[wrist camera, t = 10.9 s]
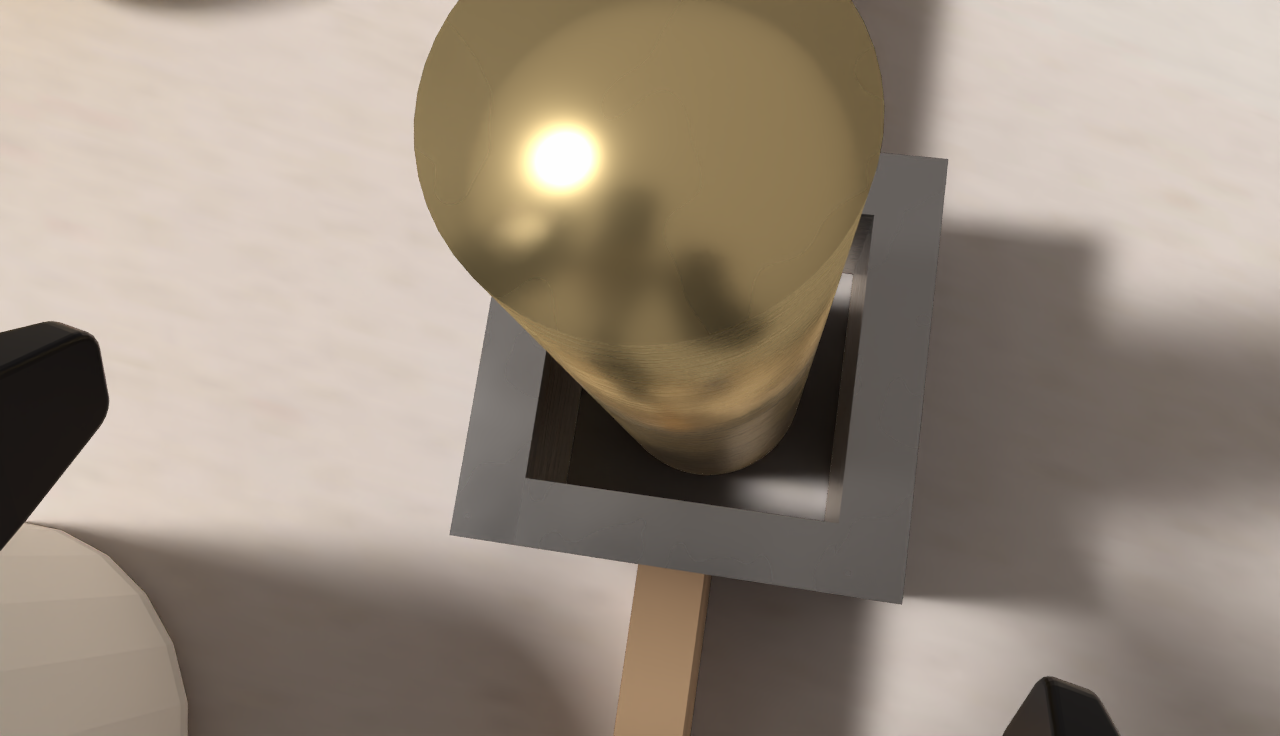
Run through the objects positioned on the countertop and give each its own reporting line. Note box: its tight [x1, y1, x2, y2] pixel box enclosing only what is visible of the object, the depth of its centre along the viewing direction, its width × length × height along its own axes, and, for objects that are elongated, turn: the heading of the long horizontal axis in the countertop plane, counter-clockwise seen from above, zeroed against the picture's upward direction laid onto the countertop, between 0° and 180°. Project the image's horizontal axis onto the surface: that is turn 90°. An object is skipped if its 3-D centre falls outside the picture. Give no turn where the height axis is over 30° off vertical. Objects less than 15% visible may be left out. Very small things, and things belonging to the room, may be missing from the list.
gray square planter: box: [450, 153, 948, 605], centre depth 20 cm, size 8×8×4 cm
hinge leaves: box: [613, 564, 712, 736], centre depth 21 cm, size 30×1×4 cm, turn 171°
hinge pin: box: [414, 0, 884, 475], centre depth 15 cm, size 4×4×14 cm
